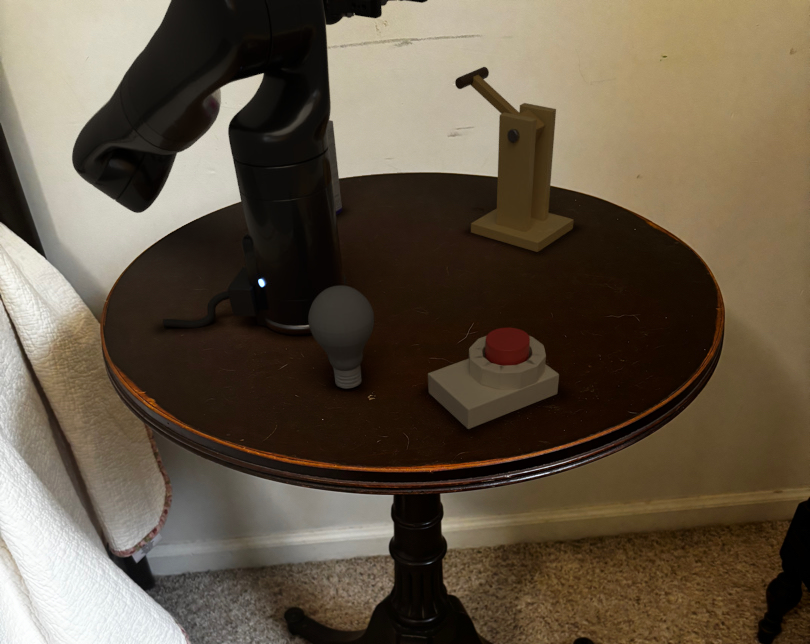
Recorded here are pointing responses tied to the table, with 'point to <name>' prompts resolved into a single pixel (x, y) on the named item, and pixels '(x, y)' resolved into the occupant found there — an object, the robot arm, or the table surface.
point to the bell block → (492, 385)
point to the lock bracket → (524, 184)
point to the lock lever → (494, 95)
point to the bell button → (507, 346)
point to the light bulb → (342, 330)
